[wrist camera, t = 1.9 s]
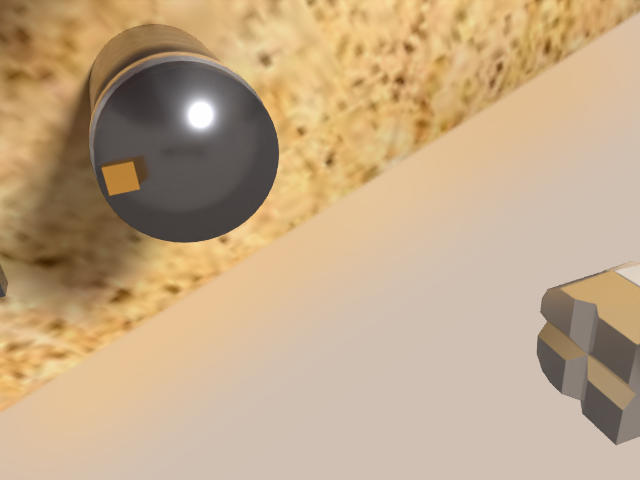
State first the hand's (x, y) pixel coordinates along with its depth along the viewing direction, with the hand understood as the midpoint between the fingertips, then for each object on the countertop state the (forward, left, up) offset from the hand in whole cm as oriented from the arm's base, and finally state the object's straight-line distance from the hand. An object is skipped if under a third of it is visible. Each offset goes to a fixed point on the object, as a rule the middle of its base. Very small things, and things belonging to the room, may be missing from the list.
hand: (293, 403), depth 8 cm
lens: (0, 0, -18) cm, 18 cm away
